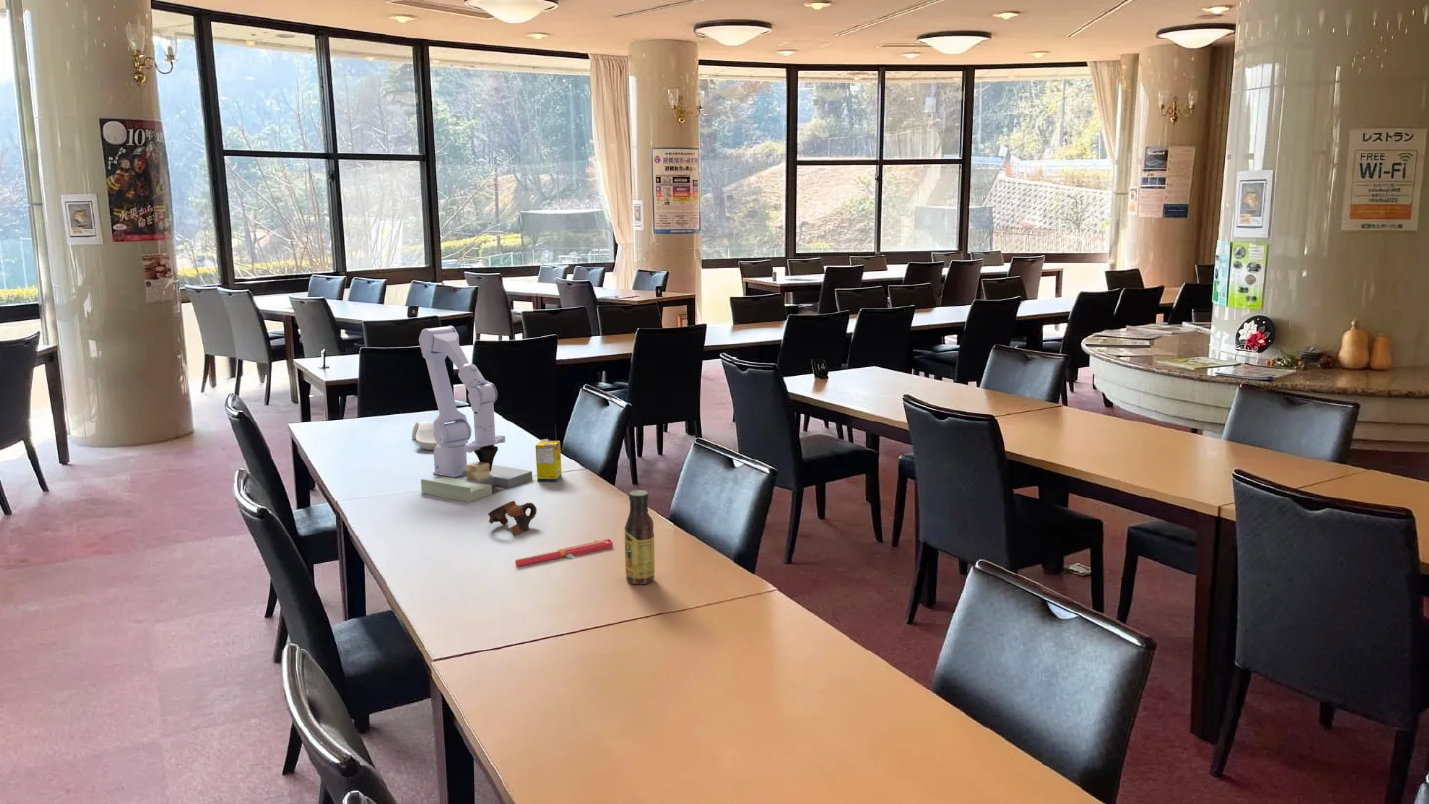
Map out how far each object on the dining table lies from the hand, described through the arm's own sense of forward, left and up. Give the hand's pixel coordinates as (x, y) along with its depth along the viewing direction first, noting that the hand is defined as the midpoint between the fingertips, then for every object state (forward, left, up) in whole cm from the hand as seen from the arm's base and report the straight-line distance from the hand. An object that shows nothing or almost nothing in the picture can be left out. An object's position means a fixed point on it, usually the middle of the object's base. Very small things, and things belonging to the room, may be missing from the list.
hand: (487, 471), depth 294 cm
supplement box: (+13, +12, -4) cm, 18 cm away
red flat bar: (+59, -38, -4) cm, 70 cm away
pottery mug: (+35, -28, -4) cm, 45 cm away
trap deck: (0, -4, -3) cm, 5 cm away
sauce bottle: (+83, -42, -4) cm, 93 cm away
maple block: (0, -4, -1) cm, 4 cm away
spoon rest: (-51, +26, -4) cm, 57 cm away
